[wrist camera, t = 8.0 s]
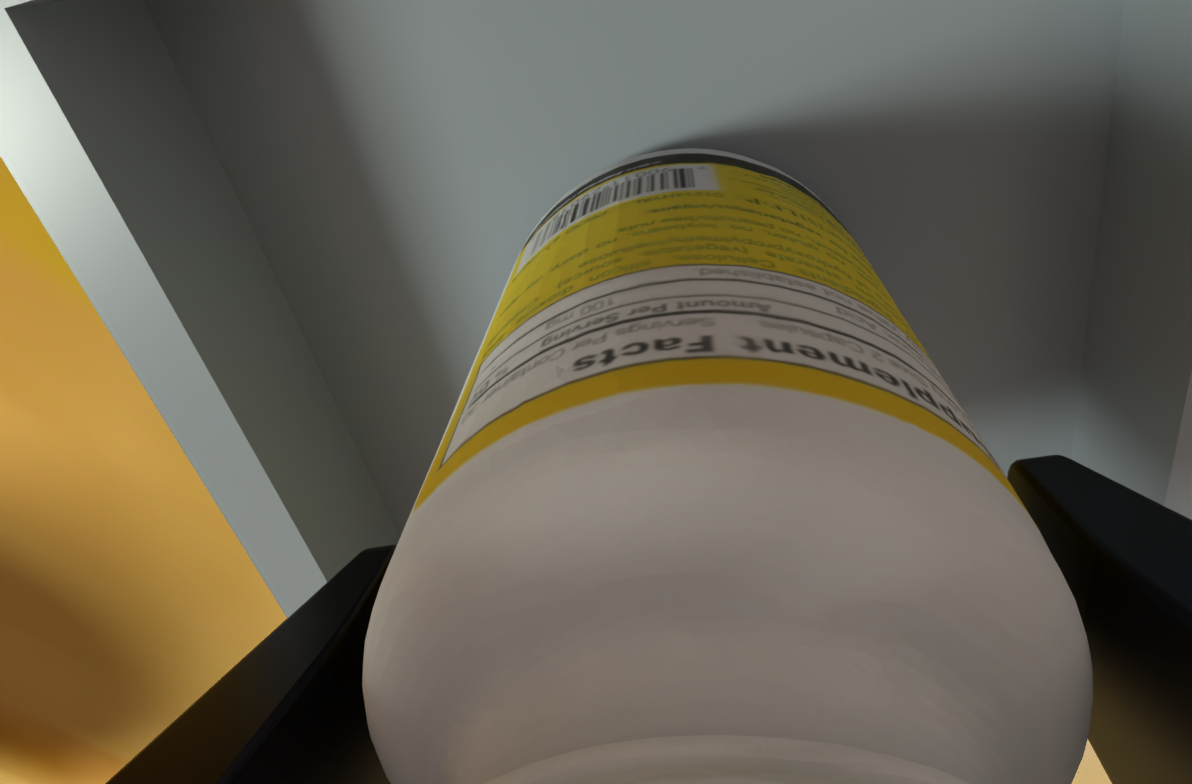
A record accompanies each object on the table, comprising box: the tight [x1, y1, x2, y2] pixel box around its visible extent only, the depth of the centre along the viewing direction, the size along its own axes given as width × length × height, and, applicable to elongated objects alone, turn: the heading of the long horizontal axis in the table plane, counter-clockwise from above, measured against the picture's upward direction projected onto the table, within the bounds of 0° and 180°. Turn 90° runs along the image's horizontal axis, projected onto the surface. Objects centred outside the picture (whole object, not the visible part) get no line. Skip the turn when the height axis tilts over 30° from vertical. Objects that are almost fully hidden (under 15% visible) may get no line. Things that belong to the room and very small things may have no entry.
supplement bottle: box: [362, 148, 1093, 784], centre depth 7 cm, size 5×5×10 cm
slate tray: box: [0, 0, 1192, 618], centre depth 11 cm, size 14×14×3 cm
